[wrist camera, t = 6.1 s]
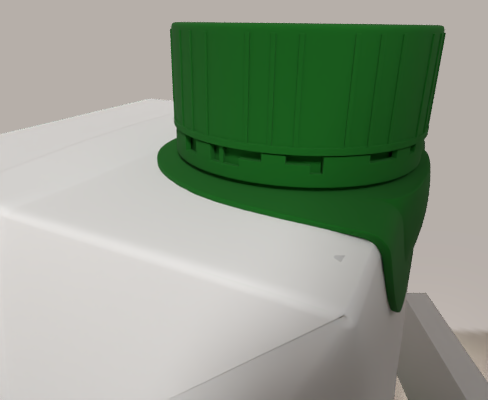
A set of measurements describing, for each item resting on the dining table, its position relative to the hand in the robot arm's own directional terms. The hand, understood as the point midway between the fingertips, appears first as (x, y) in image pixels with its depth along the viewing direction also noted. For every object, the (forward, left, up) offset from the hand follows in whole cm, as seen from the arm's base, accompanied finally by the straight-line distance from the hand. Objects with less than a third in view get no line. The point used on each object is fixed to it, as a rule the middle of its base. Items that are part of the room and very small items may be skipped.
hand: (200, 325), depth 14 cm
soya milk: (0, +3, -11) cm, 12 cm away
